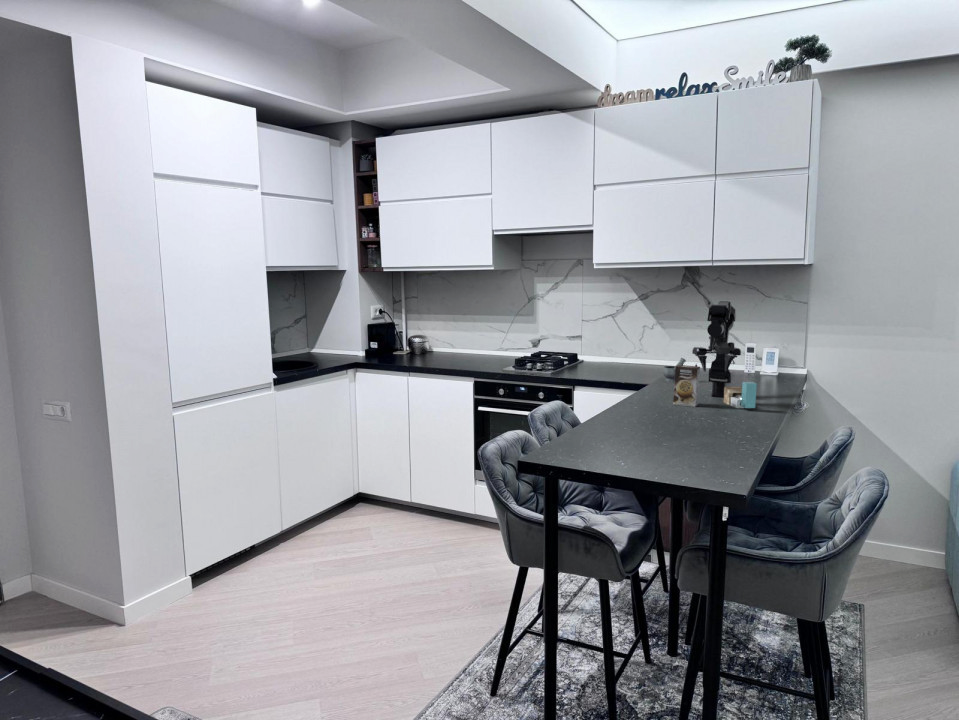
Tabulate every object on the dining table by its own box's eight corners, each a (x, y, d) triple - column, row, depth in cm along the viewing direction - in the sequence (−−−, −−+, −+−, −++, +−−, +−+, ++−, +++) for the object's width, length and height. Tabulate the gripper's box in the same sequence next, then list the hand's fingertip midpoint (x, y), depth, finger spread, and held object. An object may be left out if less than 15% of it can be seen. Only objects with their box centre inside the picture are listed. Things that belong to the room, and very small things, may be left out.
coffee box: (672, 404, 276) (674, 366, 273) (675, 402, 281) (677, 364, 279) (695, 407, 271) (697, 367, 269) (698, 404, 277) (700, 365, 275)
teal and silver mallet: (730, 400, 279) (732, 377, 277) (739, 400, 279) (741, 377, 277) (745, 407, 265) (746, 383, 263) (755, 407, 265) (756, 383, 264)
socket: (723, 402, 282) (724, 386, 281) (740, 402, 282) (741, 386, 281) (728, 404, 277) (729, 389, 276) (745, 404, 277) (746, 389, 276)
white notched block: (730, 405, 276) (731, 397, 275) (745, 405, 276) (746, 397, 276) (736, 408, 270) (737, 399, 269) (752, 408, 270) (752, 400, 270)
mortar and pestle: (659, 381, 333) (661, 357, 331) (664, 378, 341) (665, 355, 340) (682, 383, 328) (684, 359, 326) (686, 380, 336) (687, 357, 334)
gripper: (703, 336, 270) (700, 374, 272) (748, 336, 271) (745, 374, 273) (692, 333, 281) (690, 370, 283) (736, 334, 282) (733, 370, 284)
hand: (715, 371), depth 281 cm, fingers open, 9 cm apart
